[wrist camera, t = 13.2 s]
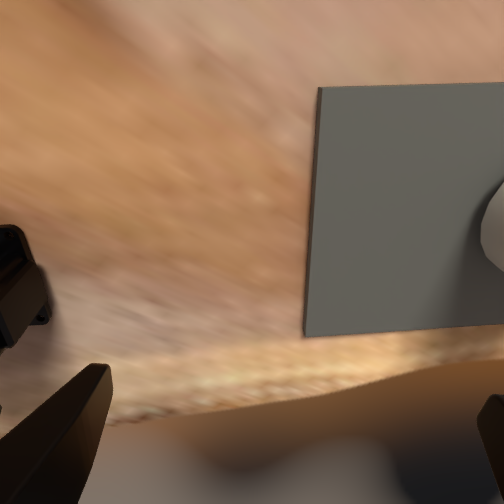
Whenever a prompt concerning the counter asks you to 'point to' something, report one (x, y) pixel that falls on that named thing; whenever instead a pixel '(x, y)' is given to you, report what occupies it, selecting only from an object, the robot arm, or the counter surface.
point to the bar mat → (403, 208)
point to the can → (494, 229)
